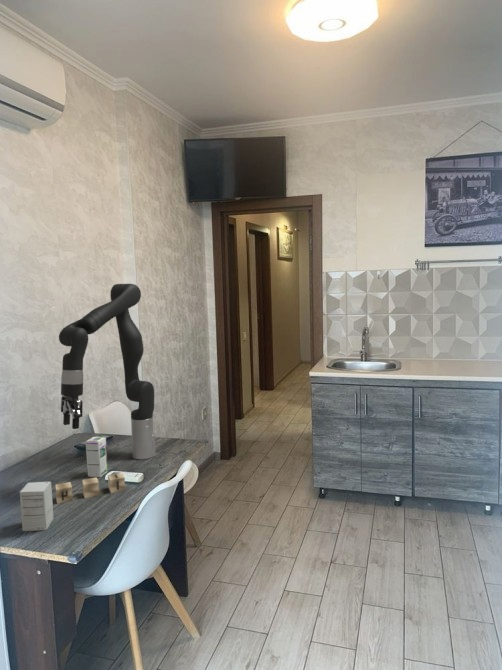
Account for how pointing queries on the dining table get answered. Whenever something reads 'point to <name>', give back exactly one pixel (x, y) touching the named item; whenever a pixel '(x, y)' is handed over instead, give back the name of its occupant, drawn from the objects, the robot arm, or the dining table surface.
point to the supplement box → (36, 506)
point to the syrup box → (96, 456)
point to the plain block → (90, 487)
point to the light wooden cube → (63, 492)
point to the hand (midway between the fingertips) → (70, 426)
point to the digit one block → (116, 482)
